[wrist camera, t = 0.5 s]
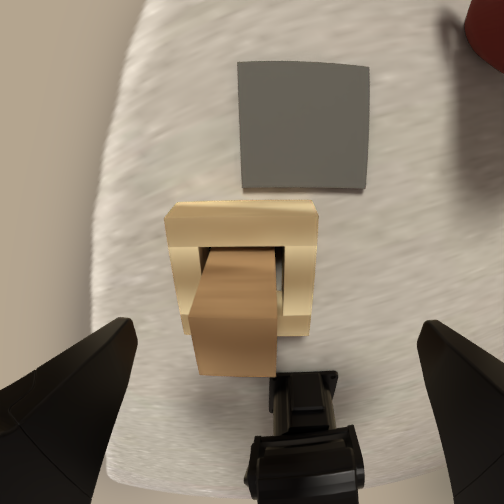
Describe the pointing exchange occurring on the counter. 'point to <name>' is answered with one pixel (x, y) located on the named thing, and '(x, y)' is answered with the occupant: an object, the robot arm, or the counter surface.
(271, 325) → the peg
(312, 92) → the mat
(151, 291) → the counter surface
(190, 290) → the holder
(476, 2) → the mug
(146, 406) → the counter surface
